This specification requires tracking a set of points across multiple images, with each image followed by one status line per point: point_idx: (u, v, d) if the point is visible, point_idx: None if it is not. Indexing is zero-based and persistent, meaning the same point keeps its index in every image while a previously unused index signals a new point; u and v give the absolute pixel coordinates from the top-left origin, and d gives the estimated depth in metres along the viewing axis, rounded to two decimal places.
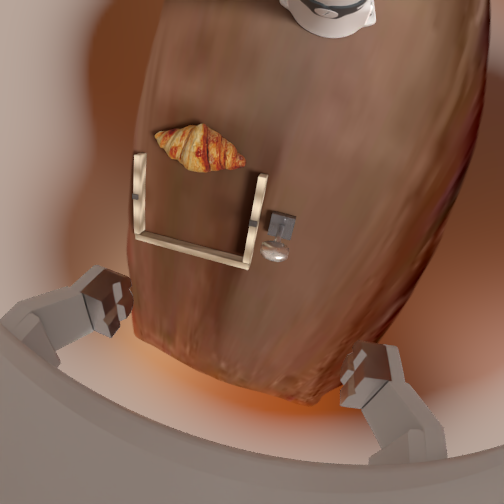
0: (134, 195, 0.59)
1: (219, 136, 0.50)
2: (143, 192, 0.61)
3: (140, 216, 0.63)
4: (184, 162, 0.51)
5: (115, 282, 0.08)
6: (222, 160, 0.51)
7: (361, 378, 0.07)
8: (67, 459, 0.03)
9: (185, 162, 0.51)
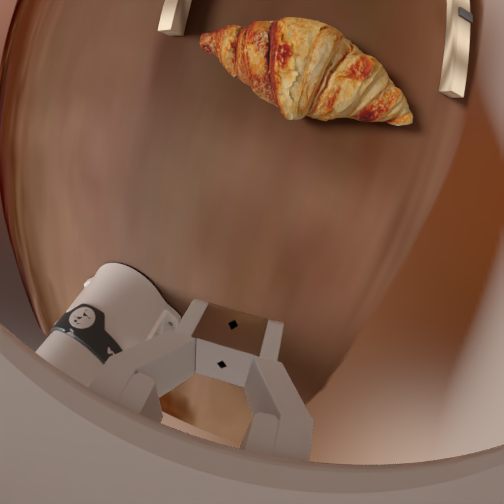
0: (467, 17, 0.11)
1: (252, 88, 0.21)
2: (449, 19, 0.13)
3: None
4: (330, 38, 0.16)
5: (230, 320, 0.08)
6: (239, 40, 0.18)
7: (225, 348, 0.07)
8: (67, 459, 0.03)
9: (327, 38, 0.15)
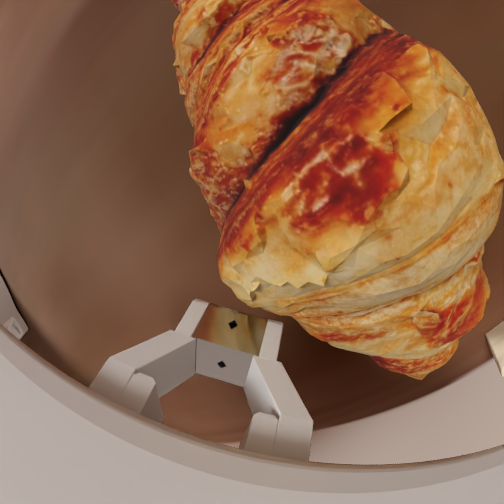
0: None
1: None
2: None
3: None
4: (490, 226, 0.05)
5: (230, 320, 0.08)
6: (251, 10, 0.05)
7: (224, 348, 0.07)
8: (67, 459, 0.03)
9: (487, 225, 0.04)
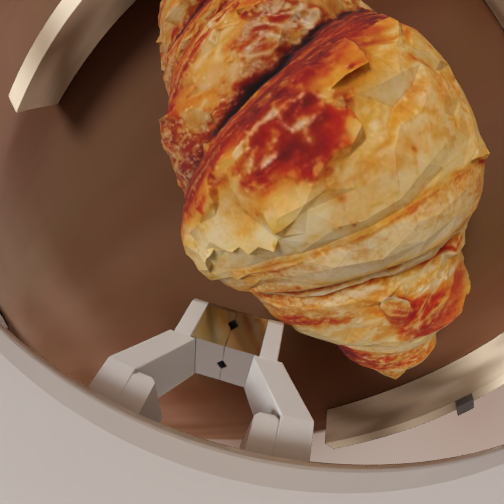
0: (460, 410, 0.11)
1: None
2: (450, 373, 0.13)
3: None
4: (467, 207, 0.05)
5: (229, 320, 0.08)
6: None
7: (225, 348, 0.07)
8: (67, 459, 0.03)
9: (463, 204, 0.04)
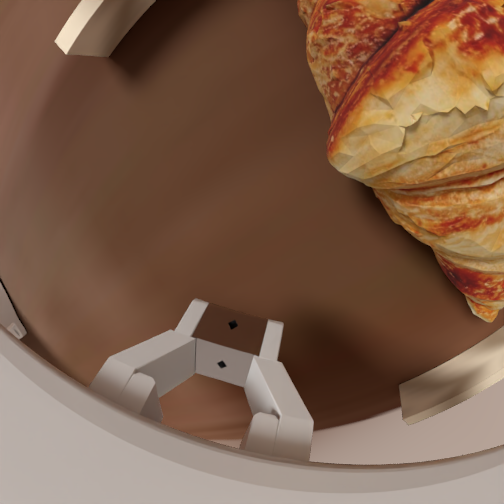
0: None
1: (309, 33, 0.06)
2: None
3: None
4: None
5: (230, 320, 0.08)
6: None
7: (225, 348, 0.07)
8: (67, 459, 0.03)
9: None
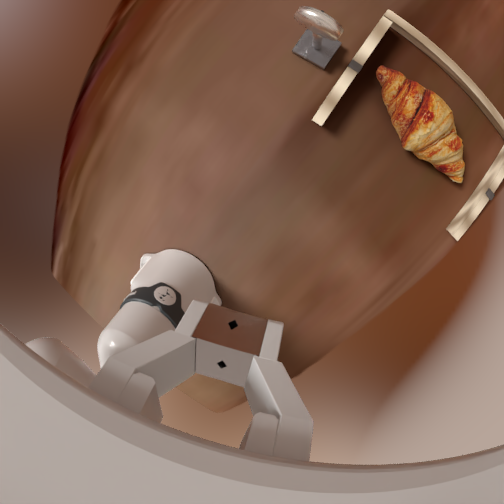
0: (489, 196, 0.30)
1: (393, 118, 0.30)
2: (479, 188, 0.32)
3: (499, 165, 0.28)
4: (451, 121, 0.25)
5: (230, 320, 0.08)
6: (404, 88, 0.26)
7: (225, 348, 0.07)
8: (67, 459, 0.03)
9: (449, 120, 0.25)
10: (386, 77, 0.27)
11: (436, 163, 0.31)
